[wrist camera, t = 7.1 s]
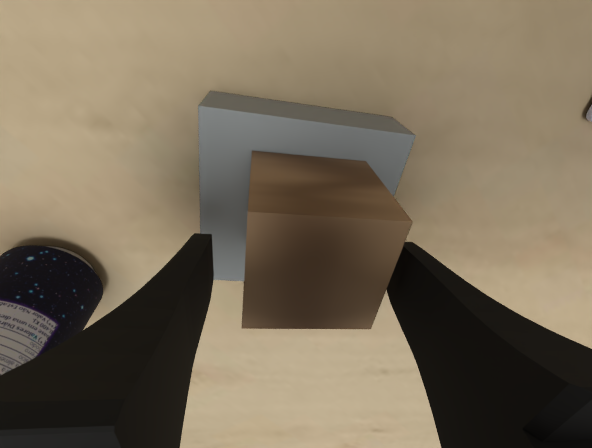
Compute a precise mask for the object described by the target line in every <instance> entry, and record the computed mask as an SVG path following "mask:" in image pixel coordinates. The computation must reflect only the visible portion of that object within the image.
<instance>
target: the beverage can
mask: <svg viewBox="0 0 592 448" xmlns="http://www.w3.org/2000/svg"><path fill="white" fill-rule="evenodd" d="M102 295H103V287H102V283H101V281H100V279H99V277H98V275H97V274H96V273H95V271H94V269H93V268H92V266H91V265H90V264H89V263H88V262H87V261H86V260H85V259H84V258H82V257H81V256H79V255H78V254H76V253H74V252H72V251H69V250H66V249H63V248H59V247H52V246H34V245H30V246H20V247H16V248H13V249H10V250H8V251H6V252H5V253H3V254H2V255H1V256H0V375H2V374H4V373H6V372H8V371H10V370H12V369H14V368H16V367H18V366H20V365H22V364H24V363H26V362H28V361H30V360H32V359H34V358H35V357H37V356H39V355H41V354H43V353H45V352H47V351H49V350H50V349H52V348H54V347H56V346H58V345H59V344H61V343H63V342H65V341H66V340H68V339H70V338H71V337H73V336H75V335H76V334H78V333H80V332H81V331H83V329H84V327H85V326H86V324H87V322H88V321H89V319H90V317H91V316H92V314H93V312H94V310H95V309H96V307H97V305H98V304H99V302H100V300H101V298H102Z"/></svg>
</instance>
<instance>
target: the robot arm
mask: <svg viewBox="0 0 592 448" xmlns="http://www.w3.org/2000/svg"><path fill="white" fill-rule="evenodd" d="M586 118H587V120H588V121H591V122H592V105H591V107H590V108H589V110H588V112H587V115H586ZM213 278H214V268H213V247H212V234H199V233H195V234H193V235H192V236H191V237H190V239H189V240H188V241H187V242H186V243H185V245H184V246H183V247H182V248H181V249H180V250H179V251H178V252H177V254H176V255H175V256H174V257H173V258H172V259H171V260H170V261H169V262H168V263H167V264H166V265H165V266H164V267H163V268H162V269H161V270H160V271H159V272H158V273H157V274H156V275H155V276H154V277H153V278H152V279H151V280H150V281H148V282H147V283H146V284H145V285H144V286H143V287H142V288H141V289H140V290H138V291H137V292H136V293H135V294H134V295H132V296H131V297H130V298H129V299H127V300H126V301H125V302H124V303H122V304H121V305H120V306H118V307H117V308H116V309H114V310H113V311H111V312H110V313H108V314H107V315H106V316H104V317H103V318H101V319H100V320H98V321H97V322H95V323H94V324H92V325H91V326H89V327H88V328H86V329H85V330H83V331H81V332H80V333H78V334H76V335H75V336H73V337H71V338H70V339H68V340H66V341H65V342H63V343H61V344H59V345H58V346H56V347H54V348H52V349H50V350H49V351H47V352H45V353H43V354H41V355H39V356H37V357H35V358H34V359H32V360H30V361H28V362H26V363H24V364H22V365H20V366H18V367H16V368H14V369H12V370H10V371H8V372H6V373H4V374H2V375H0V448H180V441H181V434H182V428H183V421H184V415H185V409H186V403H187V396H188V391H189V385H190V379H191V373H192V367H193V363H194V359H195V354H196V351H197V347H198V343H199V340H200V336H201V332H202V329H203V325H204V322H205V318H206V314H207V311H208V307H209V303H210V299H211V292H212V285H213ZM387 293H388V296H389V299H390V303H391V305H392V307H393V310H394V312H395V314H396V317H397V319H398V321H399V323H400V326H401V328H402V330H403V332H404V335H405V337H406V339H407V341H408V344H409V346H410V348H411V350H412V353H413V355H414V358H415V360H416V363H417V365H418V368H419V371H420V375H421V378H422V381H423V384H424V387H425V390H426V393H427V397H428V400H429V403H430V407H431V410H432V414H433V417H434V421H435V425H436V428H437V432H438V436H439V440H440V444H441V448H592V349H590V348H588V347H586V346H584V345H581V344H579V343H577V342H574V341H572V340H570V339H568V338H565V337H563V336H561V335H559V334H557V333H555V332H553V331H550V330H548V329H546V328H544V327H542V326H540V325H538V324H537V323H535V322H533V321H531V320H529V319H527V318H525V317H523V316H521V315H519V314H518V313H516V312H514V311H512V310H510V309H509V308H507V307H505V306H504V305H502V304H500V303H499V302H497V301H495V300H494V299H492V298H490V297H489V296H487V295H486V294H484V293H483V292H481V291H480V290H478V289H477V288H475V287H474V286H472V285H471V284H469V283H468V282H466V281H465V280H464V279H462V278H461V277H459V276H458V275H457V274H455V273H454V272H453V271H451V270H450V269H449V268H447V267H446V266H445V265H443V264H442V263H441V262H439V261H438V260H437V259H435V258H434V257H433V256H431V255H430V254H429V253H427V252H426V251H424V250H423V249H422V248H420V247H419V246H417V245H416V244H414V243H413V242H405V243H404V245H403V248H402V250H401V253H400V256H399V258H398V261H397V263H396V266H395V268H394V271H393V274H392V276H391V279H390V281H389V284H388V286H387Z"/></svg>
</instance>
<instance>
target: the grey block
mask: <svg viewBox="0 0 592 448" xmlns="http://www.w3.org/2000/svg"><path fill="white" fill-rule="evenodd" d="M198 119H199V179H200V234H212V247H213V268H214V278H213V280H230V281H244V273H245V254H246V235H247V215H248V200H249V186H250V171H251V157H252V151H260V152H271V153H282V154H293V155H304V156H315V157H326V158H337V159H348V160H359V161H366V162H367V163H368V164H369V166H370V167H371V168H372V170H373V171H374V172H375V173H376V175H377V176H378V177H379V179H380V180H381V181H382V183H383V184H384V185H385V186H386V188H387V189H388V190H389V192H390V193H391V194H392V196H393V197H394V194H395V191H396V189H397V186H398V183H399V180H400V178H401V175H402V172H403V169H404V167H405V164H406V161H407V159H408V156H409V153H410V150H411V148H412V145H413V142H414V139H415V137H416V135H415V134H413V133H412V132H411V131H409V130H408V129H407V128H405V127H404V126H403V125H401V124H400V123H399V122H397V121H396V120H395V119H393V118H392V117H388V116H381V115H375V114H368V113H361V112H354V111H347V110H340V109H333V108H326V107H319V106H312V105H305V104H298V103H292V102H285V101H278V100H271V99H264V98H257V97H250V96H243V95H236V94H229V93H222V92H216V91H210V92H209V93H208V94H207V96H206V97H205V98H204V99H203V101H202V102H201V103H200V104H199V105H198Z"/></svg>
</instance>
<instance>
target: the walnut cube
mask: <svg viewBox="0 0 592 448" xmlns="http://www.w3.org/2000/svg"><path fill="white" fill-rule="evenodd" d="M412 222H413V221H412V220H411V219H410V218H409V216H408V215H407V214H406V212H405V211H404V210H403V209H402V207H401V206H400V205H399V203H398V202H397V201H396V199H395V198H394V197H393V196H392V194H391V193H390V192H389V190H388V189H387V188H386V186H385V185H384V184H383V183H382V181H381V180H380V179H379V177H378V176H377V175H376V173H375V172H374V171H373V170H372V168H371V167H370V166H369V164H368V163H367V162H366V161H359V160H348V159H337V158H326V157H315V156H304V155H293V154H282V153H271V152H260V151H252V157H251V171H250V186H249V200H248V215H247V235H246V254H245V273H244V293H243V312H242V328H258V329H371V327H372V325H373V322H374V320H375V317H376V314H377V312H378V309H379V307H380V304H381V302H382V299H383V297H384V294H385V291H386V289H387V286H388V284H389V281H390V279H391V276H392V274H393V271H394V268H395V266H396V263H397V261H398V258H399V256H400V253H401V250H402V248H403V245H404V243H405V240H406V238H407V235H408V233H409V230H410V227H411V225H412Z"/></svg>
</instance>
